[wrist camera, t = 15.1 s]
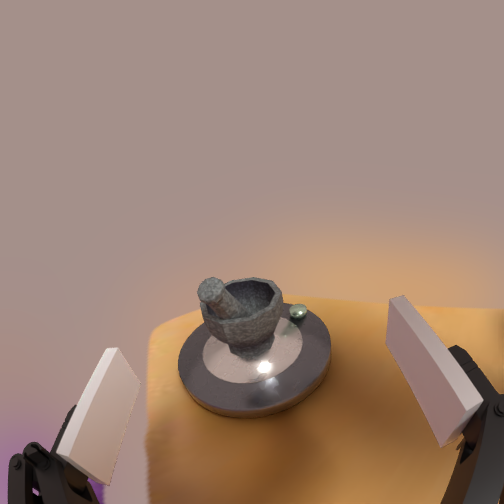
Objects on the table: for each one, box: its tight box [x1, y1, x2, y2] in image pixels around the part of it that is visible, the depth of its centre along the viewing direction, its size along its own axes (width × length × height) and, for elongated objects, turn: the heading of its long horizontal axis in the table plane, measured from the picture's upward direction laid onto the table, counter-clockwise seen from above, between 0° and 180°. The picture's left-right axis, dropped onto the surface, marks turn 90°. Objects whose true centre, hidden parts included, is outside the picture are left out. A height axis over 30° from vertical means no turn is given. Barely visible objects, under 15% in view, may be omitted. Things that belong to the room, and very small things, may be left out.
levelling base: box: [178, 303, 331, 418], centre depth 35 cm, size 20×20×4 cm
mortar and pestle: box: [197, 277, 283, 358], centre depth 32 cm, size 11×9×12 cm
